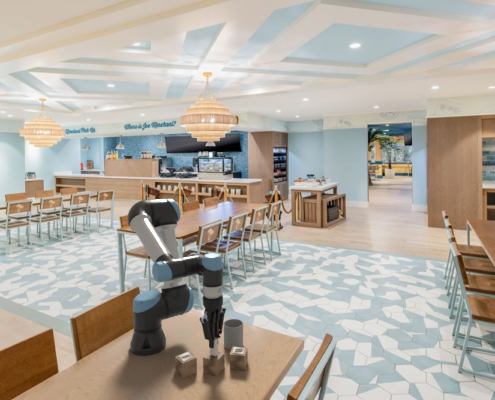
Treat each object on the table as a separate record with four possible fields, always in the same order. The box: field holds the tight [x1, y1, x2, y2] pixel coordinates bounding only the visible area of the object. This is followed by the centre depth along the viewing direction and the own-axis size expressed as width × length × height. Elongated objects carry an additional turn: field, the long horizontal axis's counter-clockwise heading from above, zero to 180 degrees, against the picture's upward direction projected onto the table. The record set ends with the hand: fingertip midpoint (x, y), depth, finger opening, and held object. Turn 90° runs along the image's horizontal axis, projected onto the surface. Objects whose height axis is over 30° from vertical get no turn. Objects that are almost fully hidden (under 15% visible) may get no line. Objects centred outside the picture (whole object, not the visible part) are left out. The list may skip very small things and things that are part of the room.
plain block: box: [202, 350, 226, 377], centre depth 132 cm, size 6×6×6 cm
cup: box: [223, 318, 244, 351], centre depth 150 cm, size 8×8×10 cm
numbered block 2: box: [229, 346, 249, 371], centre depth 135 cm, size 6×6×6 cm
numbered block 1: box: [174, 350, 198, 379], centre depth 131 cm, size 6×6×6 cm
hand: (213, 354), depth 132 cm, fingers closed
